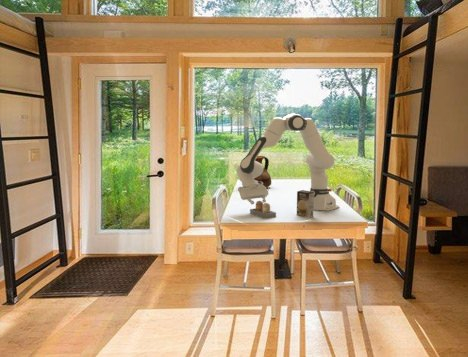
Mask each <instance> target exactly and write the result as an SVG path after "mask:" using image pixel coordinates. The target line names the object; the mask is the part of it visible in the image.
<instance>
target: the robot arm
mask: <svg viewBox="0 0 468 357" xmlns="http://www.w3.org/2000/svg"><path fill="white" fill-rule="evenodd" d="M286 131H292V132H294V131H295V132H298V131H299V133H300V135H301V138H302V140H303V143H304V145H305V148H306V149H307V150H308V152H309V153H308V154H307V155H306V163H307V164H308V167H309V168H308V169H309V172H310V188H309V191H311V192H314V210H315V211H332V210H336V209H339V208H340V205H338V204H337V200H336V198H335V197H334V196H332V194H330V192H332V191H333V190H332V188H330V187H329V188H328V183H329V182H328V175H327V172H326V170H328V169H331V168H333V166H334V165H335V157H334V156H333V155H332V153H330V152H329V151H328V148H327V147H326V145H325V144H324V142H323V140H322V137H321V135H320V132H319V130H318V128H317V125H316V123H315V122H314V120H313V119H312V118H310V117H305V118H304V117H303V116H302V115H301V114H297V113H289V114H286V115H284V116H282V117H279V116H277V117H273V118H272V120H271V121H270V123H269V124H268V126H267V127H266V129H265V131H264V132H263V134H262V135H261V136H260V137H258V138H257V140H256V141H255V142H254V143H253V146H251V149H250V150H249V151H248V153H247V154H246V155H245V157H244V158H243V159H242V160H241V162H240V163H239V164H240V165H239V166H237V168H236V174H237V177H238V179H239V181H240V182H241V185H242V186H239V187H238V188H237V190H238V193H239V196H240V199H241V200H242V201H246V200H247V202H249V203H250V205H254V204H255V202H254V199H261V198H262V202H263V204H264V203H267V200H266V198H267V197H268V196H269V191H268V189H267V187H265V186H264V185H263V182H261V181H256V180H254V178H256V177H258V176H260V175H261V174H262V173H263V170H264V165H263V163H262V164H261V163H259V162H257V161H255V160H256V158H257V156H260V153H261V152H262V150H264V149H265V148H272V147H275V146H276V145H278V143H279V142H280V140H281V138H282V136H283V134H284V132H286ZM314 210H313V211H314Z"/></svg>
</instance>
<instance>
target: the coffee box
mask: <svg viewBox="0 0 468 357" xmlns="http://www.w3.org/2000/svg"><path fill="white" fill-rule="evenodd" d="M296 216H301V217H305V218H313V217H314V192H311V191H310V190H304V189H302V190H298V191H296Z"/></svg>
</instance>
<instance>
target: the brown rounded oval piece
mask: <svg viewBox="0 0 468 357" xmlns="http://www.w3.org/2000/svg"><path fill="white" fill-rule="evenodd" d="M263 204H264V203H263V201H261V200H257V201H256V202H255V208H256V211H263Z"/></svg>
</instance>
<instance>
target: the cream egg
mask: <svg viewBox="0 0 468 357" xmlns="http://www.w3.org/2000/svg"><path fill="white" fill-rule="evenodd" d="M270 211H271V205H270V203H268V202H265V203H263V213H265V214H266V213H270Z"/></svg>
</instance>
